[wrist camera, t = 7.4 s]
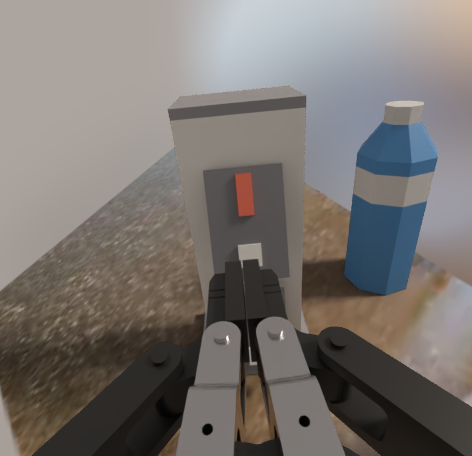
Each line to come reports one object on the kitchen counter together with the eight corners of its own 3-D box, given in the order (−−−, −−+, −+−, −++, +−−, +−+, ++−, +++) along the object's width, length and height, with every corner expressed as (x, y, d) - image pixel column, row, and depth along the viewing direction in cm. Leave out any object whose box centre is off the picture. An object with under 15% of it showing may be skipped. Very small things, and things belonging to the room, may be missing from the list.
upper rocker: (216, 279, 26) (204, 170, 25) (287, 272, 26) (279, 163, 24) (215, 285, 25) (202, 170, 23) (290, 278, 25) (282, 162, 23)
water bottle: (420, 273, 47) (466, 99, 35) (389, 305, 42) (431, 114, 30) (363, 250, 54) (385, 95, 41) (331, 275, 49) (345, 108, 36)
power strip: (206, 313, 44) (166, 96, 30) (298, 305, 44) (301, 82, 30) (202, 377, 35) (142, 115, 21) (316, 368, 35) (333, 96, 21)
